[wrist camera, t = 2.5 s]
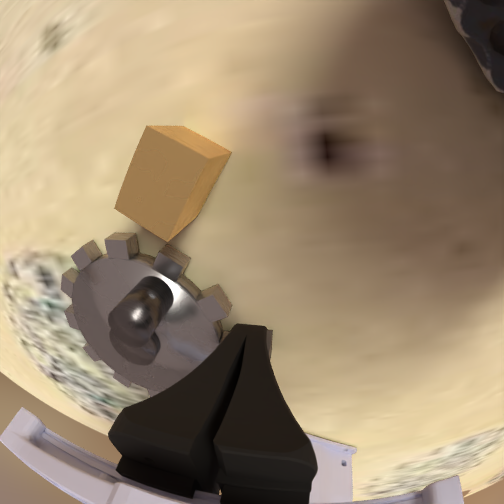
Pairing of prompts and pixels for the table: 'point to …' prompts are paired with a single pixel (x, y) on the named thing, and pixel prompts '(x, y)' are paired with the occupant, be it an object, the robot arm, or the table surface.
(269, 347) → the block
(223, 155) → the link block
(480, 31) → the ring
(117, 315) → the sprocket
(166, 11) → the table surface
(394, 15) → the table surface
